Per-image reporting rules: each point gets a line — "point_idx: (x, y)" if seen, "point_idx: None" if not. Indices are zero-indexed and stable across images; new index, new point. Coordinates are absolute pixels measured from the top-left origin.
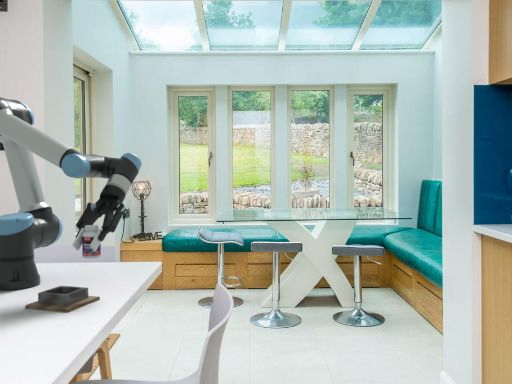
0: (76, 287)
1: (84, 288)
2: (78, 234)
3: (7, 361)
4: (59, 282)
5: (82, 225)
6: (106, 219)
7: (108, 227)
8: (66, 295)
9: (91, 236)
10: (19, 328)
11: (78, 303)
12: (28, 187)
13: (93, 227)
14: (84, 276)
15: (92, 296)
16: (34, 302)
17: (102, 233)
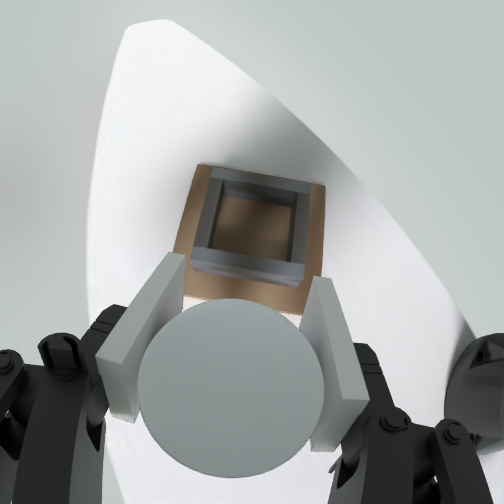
0: (232, 258)
1: (197, 247)
2: (347, 335)
3: (185, 31)
4: None
5: (390, 432)
6: (28, 484)
7: (19, 355)
8: (213, 167)
9: (193, 306)
10: (240, 89)
11: (195, 210)
12: None
13: (169, 324)
14: None
15: (188, 290)
16: (321, 210)
17: (94, 340)
